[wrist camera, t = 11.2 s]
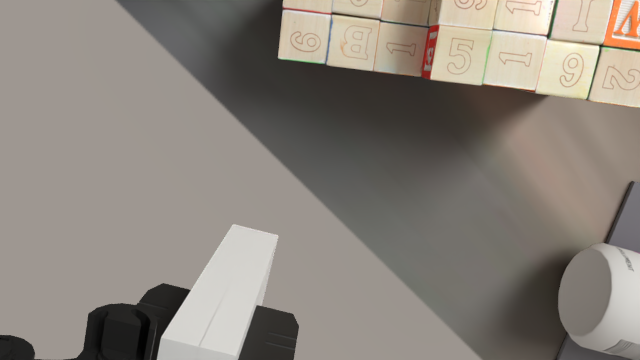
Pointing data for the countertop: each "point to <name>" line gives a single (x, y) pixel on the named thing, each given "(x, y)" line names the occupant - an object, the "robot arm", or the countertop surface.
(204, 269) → the robot arm
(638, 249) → the mat
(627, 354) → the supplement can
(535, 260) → the countertop surface
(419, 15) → the stack of blocks
